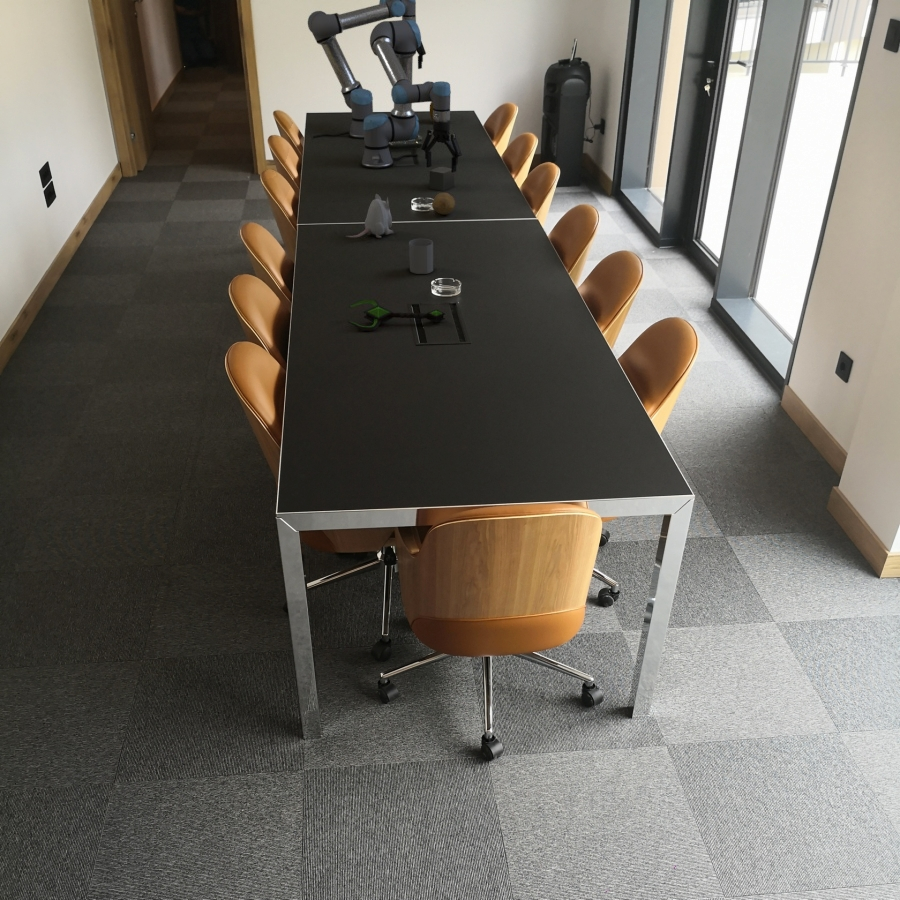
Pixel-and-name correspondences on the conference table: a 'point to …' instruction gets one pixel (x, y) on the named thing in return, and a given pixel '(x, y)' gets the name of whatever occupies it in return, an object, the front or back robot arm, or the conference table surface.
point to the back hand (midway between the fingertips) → (410, 67)
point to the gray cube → (441, 178)
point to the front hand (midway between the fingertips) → (441, 169)
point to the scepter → (391, 315)
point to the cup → (421, 256)
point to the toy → (377, 219)
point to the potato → (443, 203)
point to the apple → (431, 110)
